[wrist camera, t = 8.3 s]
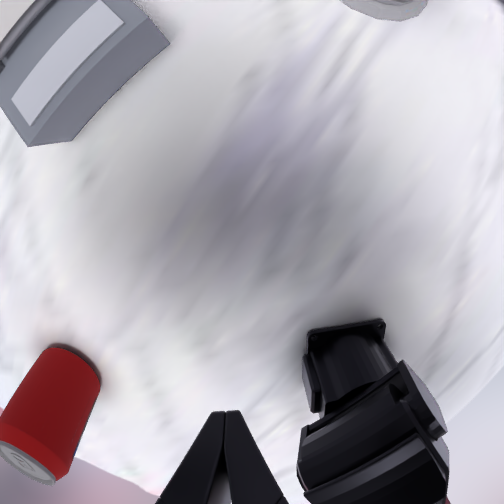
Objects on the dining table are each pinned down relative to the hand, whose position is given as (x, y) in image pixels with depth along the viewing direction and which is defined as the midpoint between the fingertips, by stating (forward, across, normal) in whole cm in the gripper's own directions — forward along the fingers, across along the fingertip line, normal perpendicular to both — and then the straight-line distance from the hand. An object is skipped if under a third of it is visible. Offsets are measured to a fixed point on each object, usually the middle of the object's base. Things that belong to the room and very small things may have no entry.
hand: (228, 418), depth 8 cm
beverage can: (+13, +17, +10) cm, 24 cm away
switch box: (+13, +8, -15) cm, 22 cm away
